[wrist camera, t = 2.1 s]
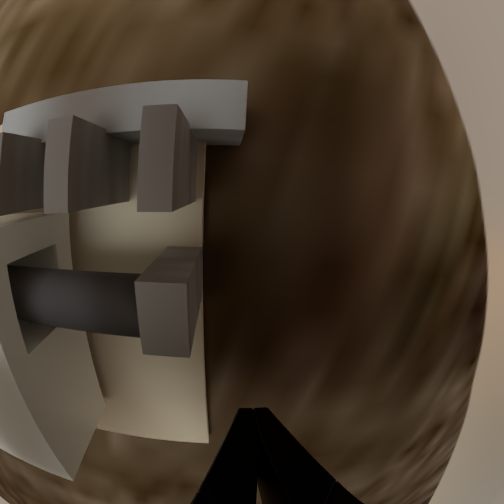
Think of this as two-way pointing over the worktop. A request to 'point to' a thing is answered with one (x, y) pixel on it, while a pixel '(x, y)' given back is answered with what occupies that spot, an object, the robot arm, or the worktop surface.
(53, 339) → the sleeve
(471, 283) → the worktop surface
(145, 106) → the cable comb
